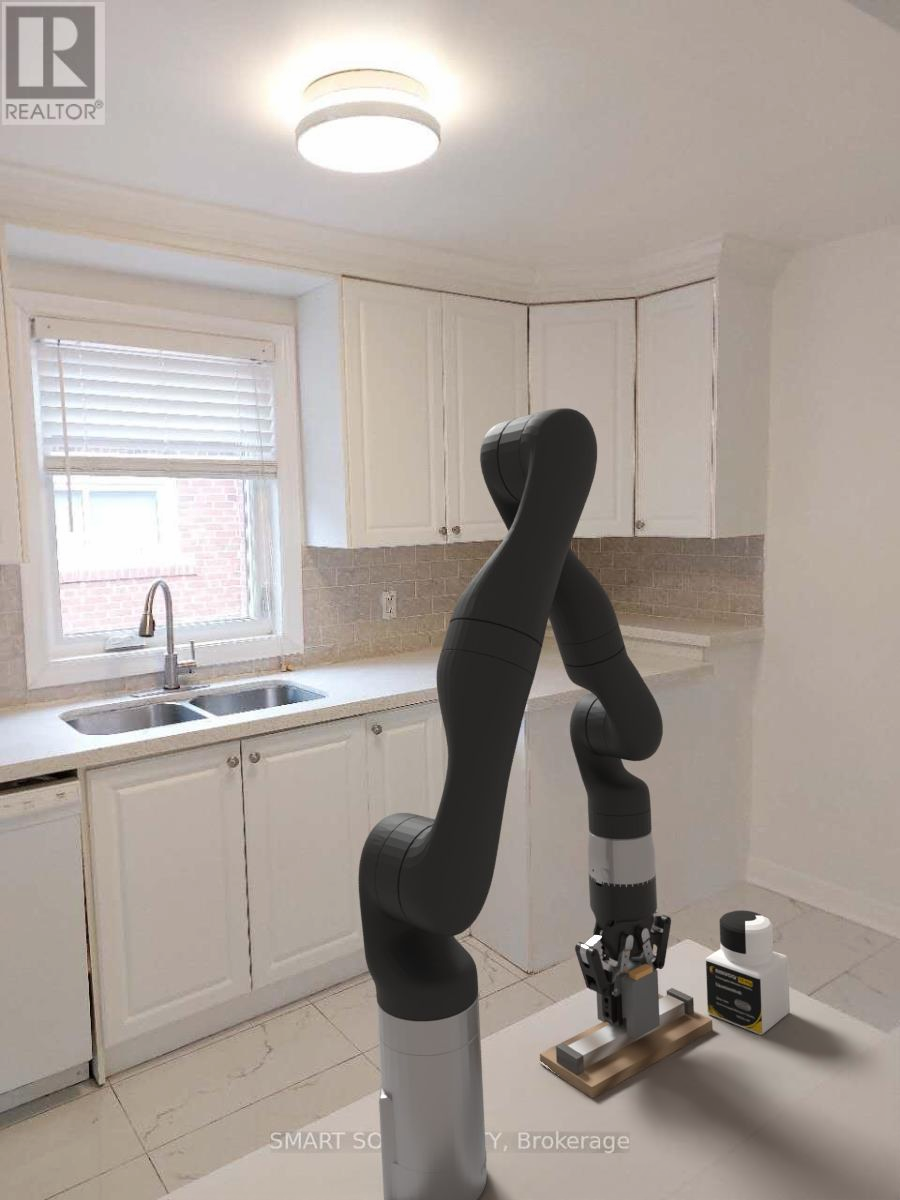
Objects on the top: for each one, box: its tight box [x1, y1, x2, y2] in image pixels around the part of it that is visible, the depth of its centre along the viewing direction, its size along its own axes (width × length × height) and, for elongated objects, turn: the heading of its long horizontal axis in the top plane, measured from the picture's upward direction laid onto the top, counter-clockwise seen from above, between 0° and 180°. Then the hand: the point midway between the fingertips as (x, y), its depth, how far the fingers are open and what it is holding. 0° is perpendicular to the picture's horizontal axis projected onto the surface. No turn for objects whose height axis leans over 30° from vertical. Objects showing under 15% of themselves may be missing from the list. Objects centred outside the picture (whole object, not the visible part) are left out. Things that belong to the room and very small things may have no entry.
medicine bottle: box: [705, 910, 791, 1036], centre depth 103 cm, size 7×7×12 cm
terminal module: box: [596, 958, 660, 1039], centre depth 97 cm, size 4×6×7 cm
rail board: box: [539, 987, 714, 1099], centre depth 97 cm, size 20×8×3 cm, turn 126°
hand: (628, 1015), depth 97 cm, fingers closed on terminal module, 4 cm apart
